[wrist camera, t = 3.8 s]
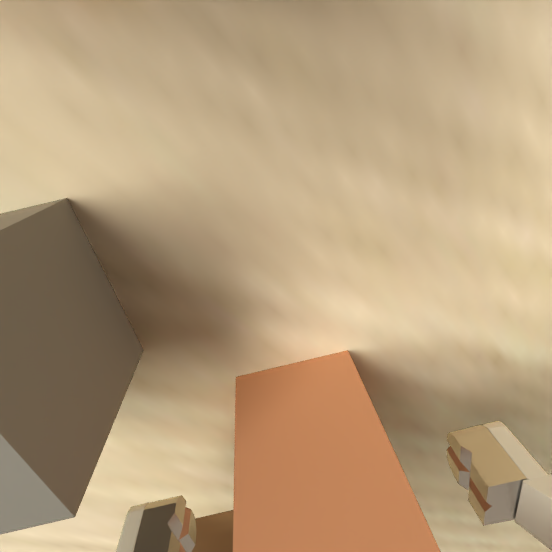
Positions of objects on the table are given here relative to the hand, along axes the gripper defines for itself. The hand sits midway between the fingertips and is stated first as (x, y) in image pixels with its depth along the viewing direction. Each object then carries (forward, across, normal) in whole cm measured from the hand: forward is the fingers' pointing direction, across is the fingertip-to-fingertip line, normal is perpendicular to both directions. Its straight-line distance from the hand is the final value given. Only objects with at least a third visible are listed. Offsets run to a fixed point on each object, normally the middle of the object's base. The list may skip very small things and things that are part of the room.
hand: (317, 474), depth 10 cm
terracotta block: (+3, 0, 0) cm, 3 cm away
